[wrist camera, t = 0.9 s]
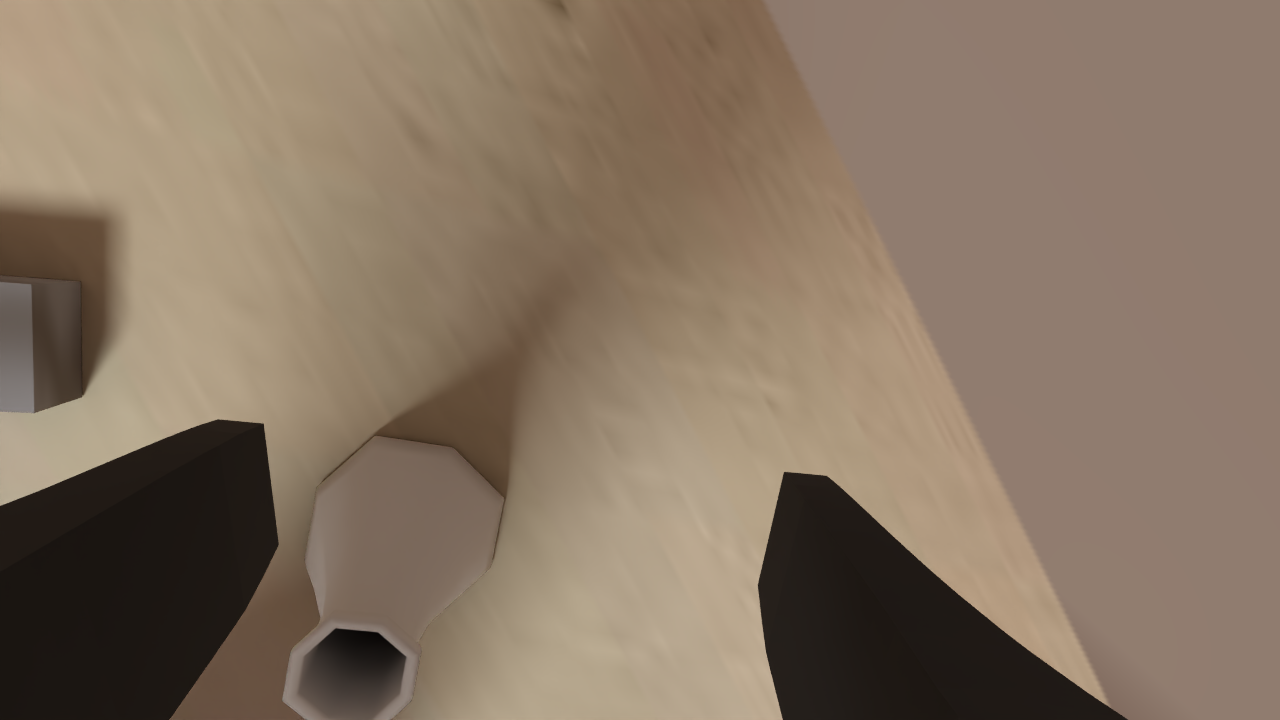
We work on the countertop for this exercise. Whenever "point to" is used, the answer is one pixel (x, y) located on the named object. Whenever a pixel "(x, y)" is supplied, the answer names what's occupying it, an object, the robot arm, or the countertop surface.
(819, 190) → the countertop surface
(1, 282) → the spice rail
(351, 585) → the flask
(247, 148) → the countertop surface
